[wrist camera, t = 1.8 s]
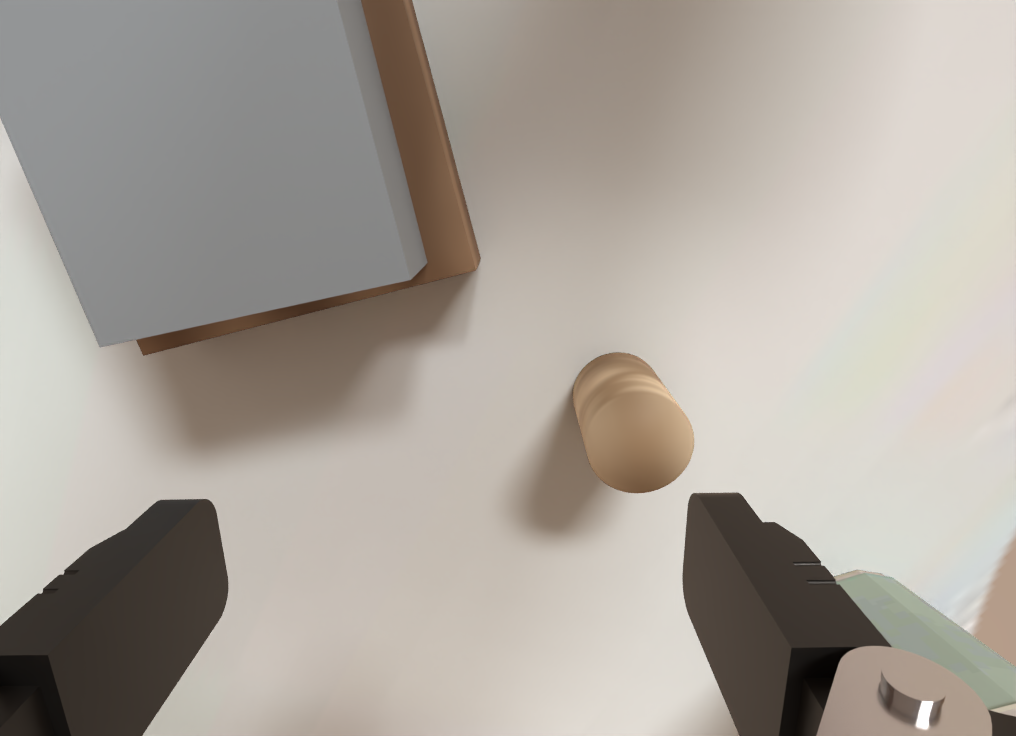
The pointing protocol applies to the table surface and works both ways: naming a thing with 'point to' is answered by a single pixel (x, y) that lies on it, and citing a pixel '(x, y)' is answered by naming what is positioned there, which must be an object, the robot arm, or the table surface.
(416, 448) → the table surface
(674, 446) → the wooden dowel
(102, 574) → the robot arm
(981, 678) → the disposable coffee cup
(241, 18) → the slate slab
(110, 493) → the table surface
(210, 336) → the walnut slab
